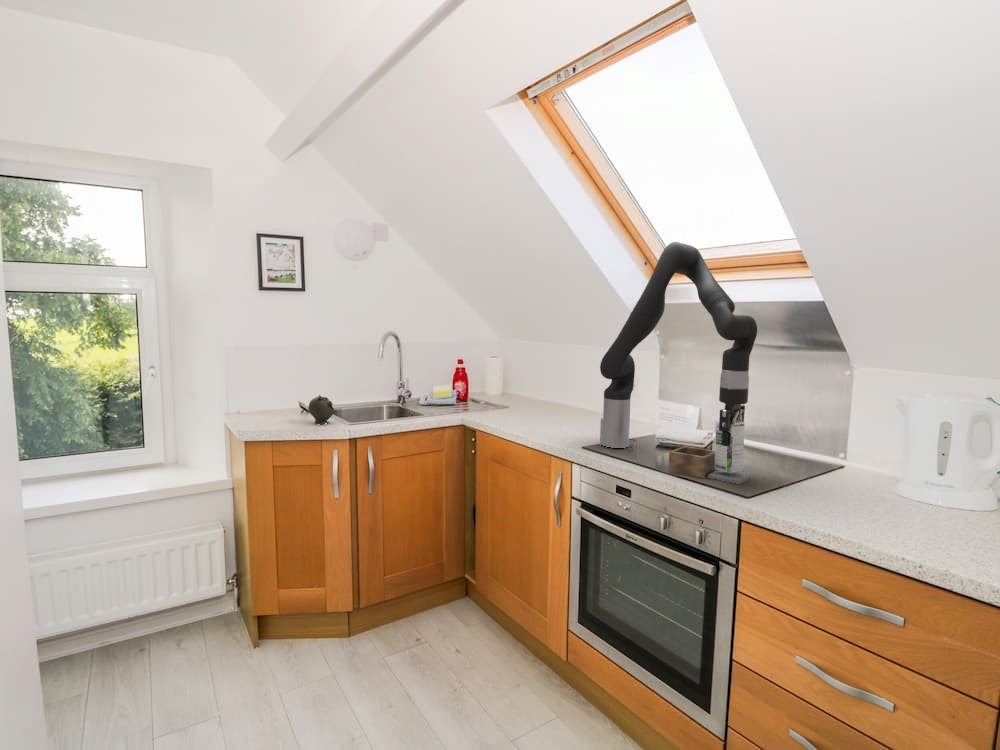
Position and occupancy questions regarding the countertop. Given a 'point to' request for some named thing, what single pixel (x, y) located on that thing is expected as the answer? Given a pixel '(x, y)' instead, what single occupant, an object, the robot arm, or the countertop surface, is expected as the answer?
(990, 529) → the countertop surface
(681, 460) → the walnut sleeve
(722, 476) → the slate mat
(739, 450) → the syrup box
